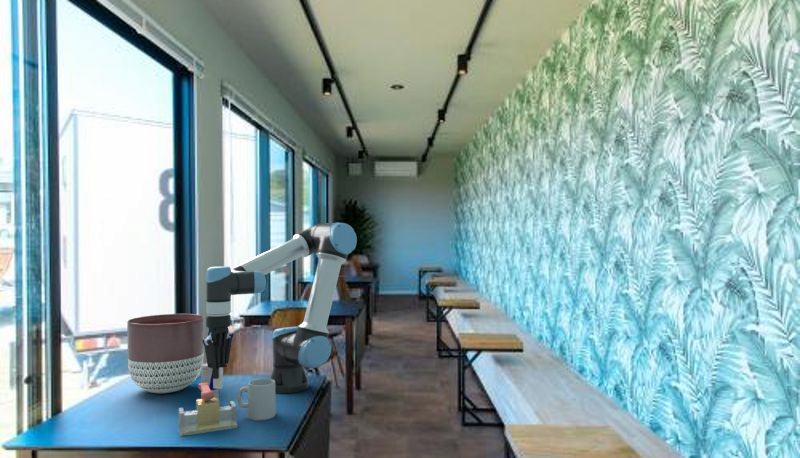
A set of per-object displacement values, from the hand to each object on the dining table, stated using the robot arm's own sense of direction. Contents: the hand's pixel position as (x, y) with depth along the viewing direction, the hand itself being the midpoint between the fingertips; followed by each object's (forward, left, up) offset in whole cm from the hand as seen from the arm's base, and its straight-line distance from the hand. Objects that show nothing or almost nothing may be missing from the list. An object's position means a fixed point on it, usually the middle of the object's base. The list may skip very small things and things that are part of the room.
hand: (218, 388), depth 176 cm
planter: (+13, -40, -9) cm, 43 cm away
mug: (-11, +5, -9) cm, 15 cm away
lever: (+4, +4, -1) cm, 6 cm away
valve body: (+4, +9, -9) cm, 14 cm away
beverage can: (+1, -10, -9) cm, 13 cm away
